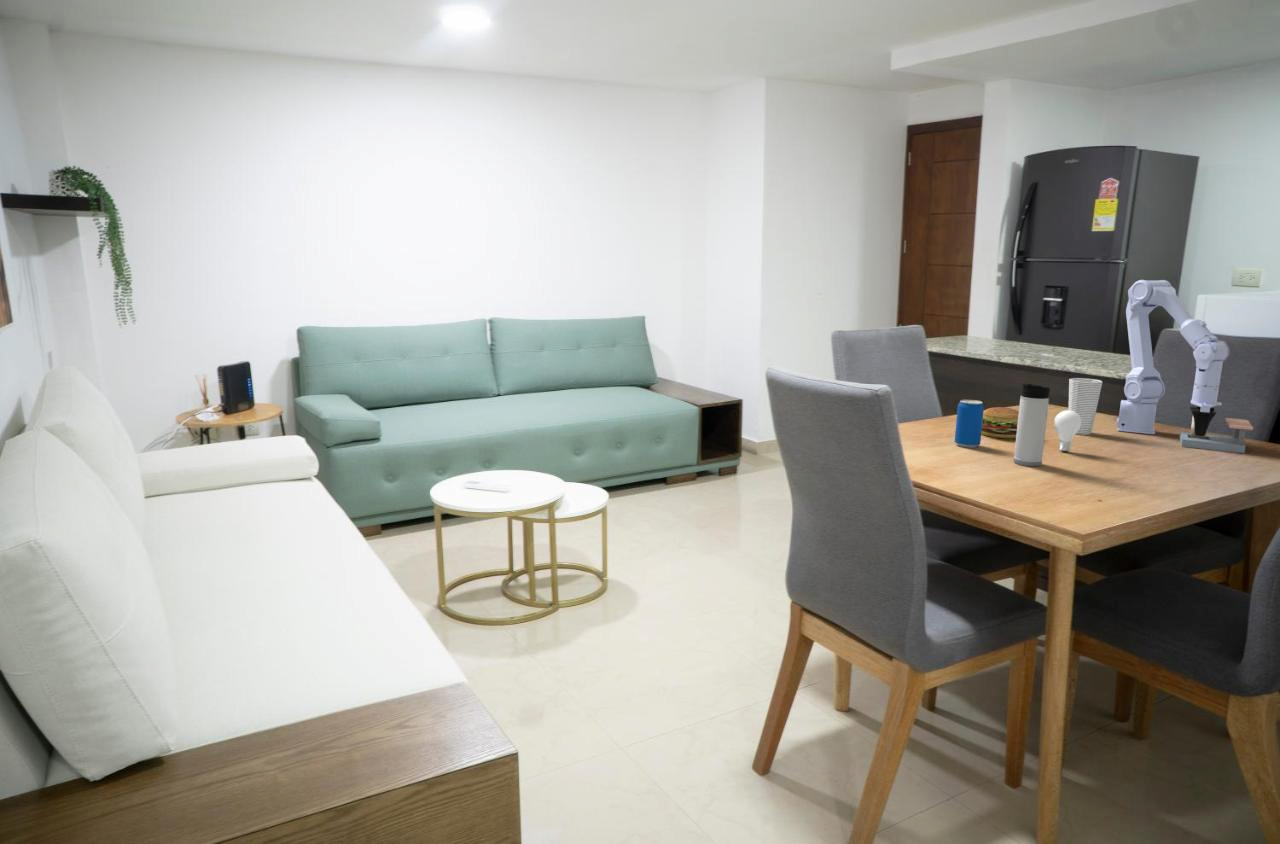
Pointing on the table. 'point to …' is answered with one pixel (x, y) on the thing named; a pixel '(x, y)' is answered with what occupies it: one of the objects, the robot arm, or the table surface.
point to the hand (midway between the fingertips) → (1199, 434)
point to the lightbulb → (1067, 428)
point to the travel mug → (1031, 425)
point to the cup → (1084, 401)
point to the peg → (1194, 432)
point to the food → (1000, 423)
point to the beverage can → (969, 423)
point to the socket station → (1220, 438)
